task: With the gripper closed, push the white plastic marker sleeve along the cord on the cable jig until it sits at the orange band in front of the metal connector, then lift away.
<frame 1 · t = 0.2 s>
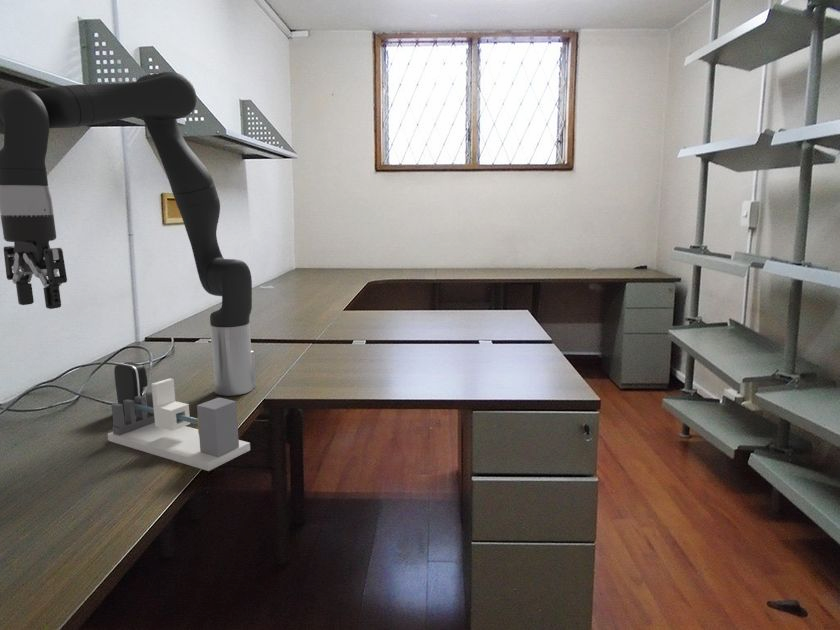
hand: (39, 306, 100), 28 cm above the table, fingers open, 8 cm apart
battery charger: (135, 413, 128), on the table
sleeve: (171, 404, 109), point 8 cm above the table, slide at 0.0 cm
cable jig: (177, 445, 110), on the table
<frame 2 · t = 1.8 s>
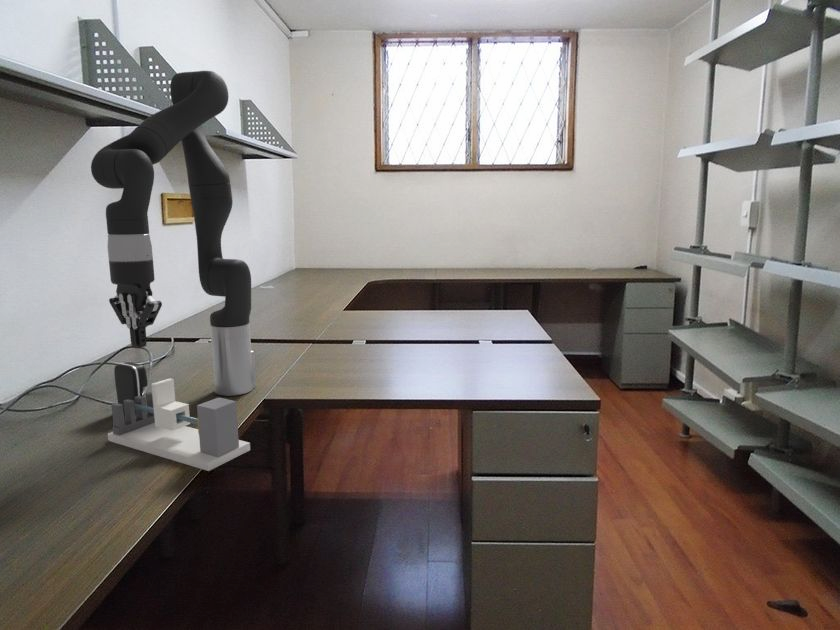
hand: (139, 346, 111), 19 cm above the table, fingers closed
nothing on the table moved.
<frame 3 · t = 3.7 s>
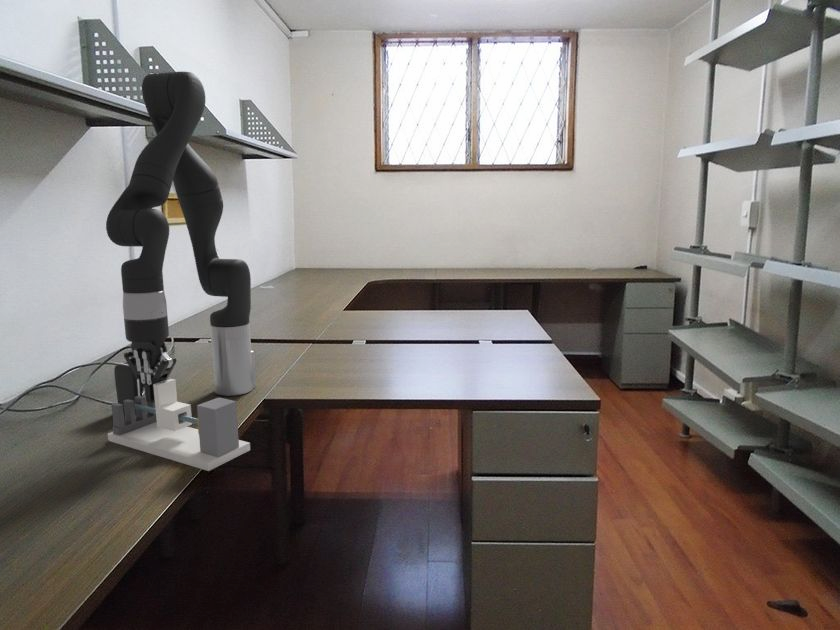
hand: (153, 401, 111), 8 cm above the table, fingers closed
sleeve: (172, 404, 109), point 8 cm above the table, slide at 0.5 cm, touching gripper
everything else where it was.
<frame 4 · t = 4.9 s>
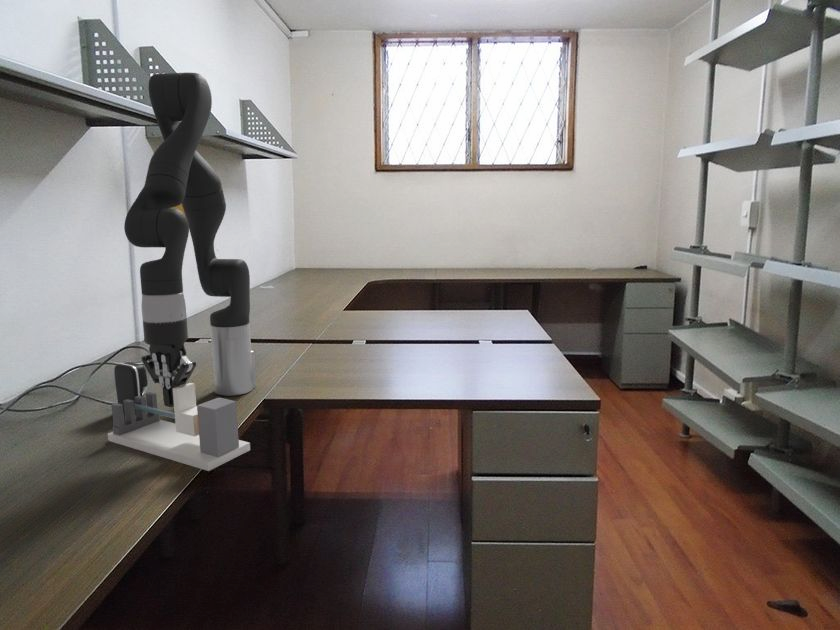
hand: (171, 405, 109), 8 cm above the table, fingers closed
sleeve: (192, 409, 106), point 8 cm above the table, slide at 5.9 cm, touching gripper
everything else where it was.
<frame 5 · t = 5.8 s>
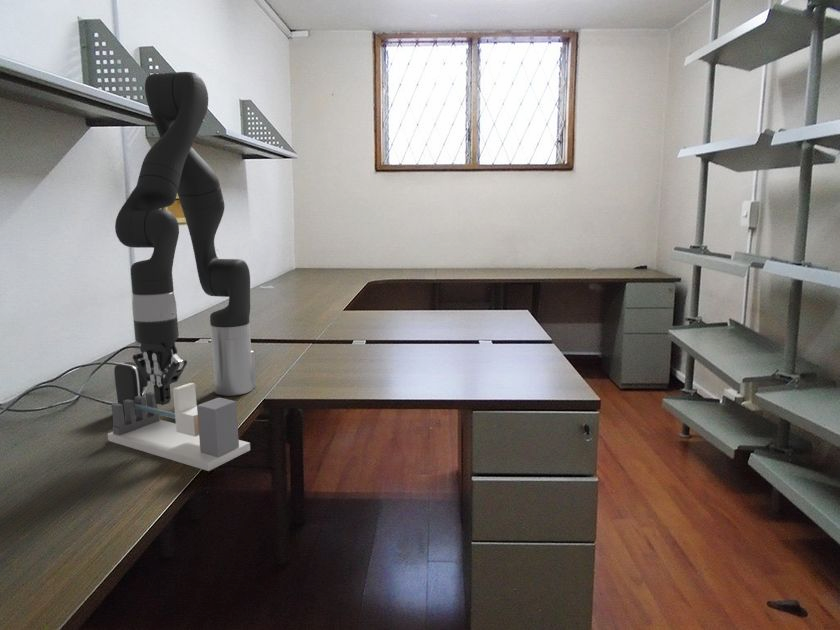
hand: (163, 403, 110), 8 cm above the table, fingers closed
sleeve: (192, 409, 106), point 8 cm above the table, slide at 6.0 cm
everything else where it was.
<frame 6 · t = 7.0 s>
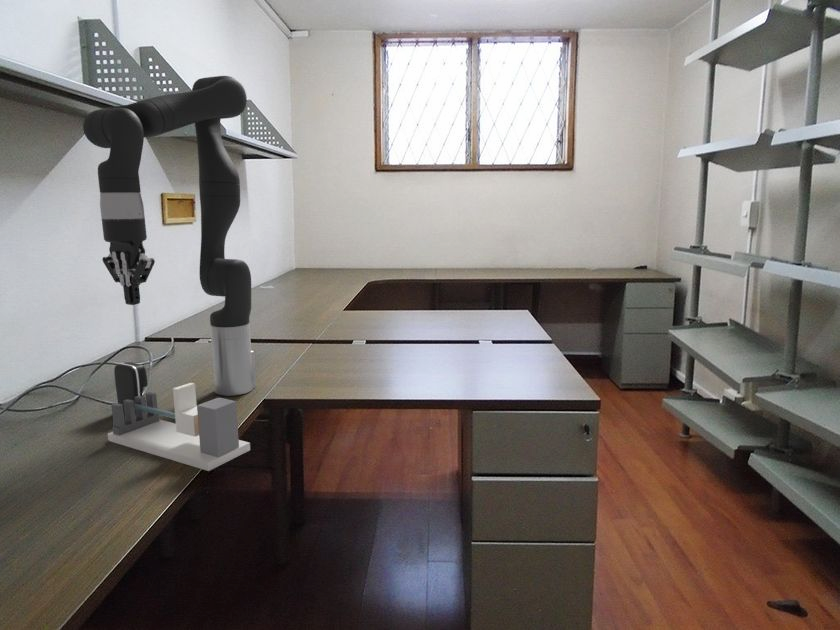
hand: (132, 304, 114), 26 cm above the table, fingers closed
nothing on the table moved.
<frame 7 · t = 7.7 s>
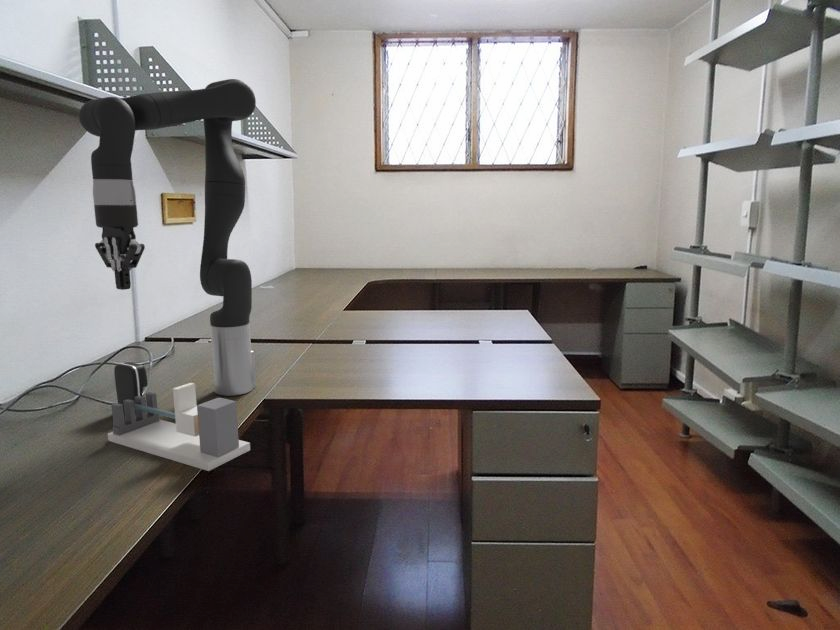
hand: (123, 289, 116), 29 cm above the table, fingers closed
nothing on the table moved.
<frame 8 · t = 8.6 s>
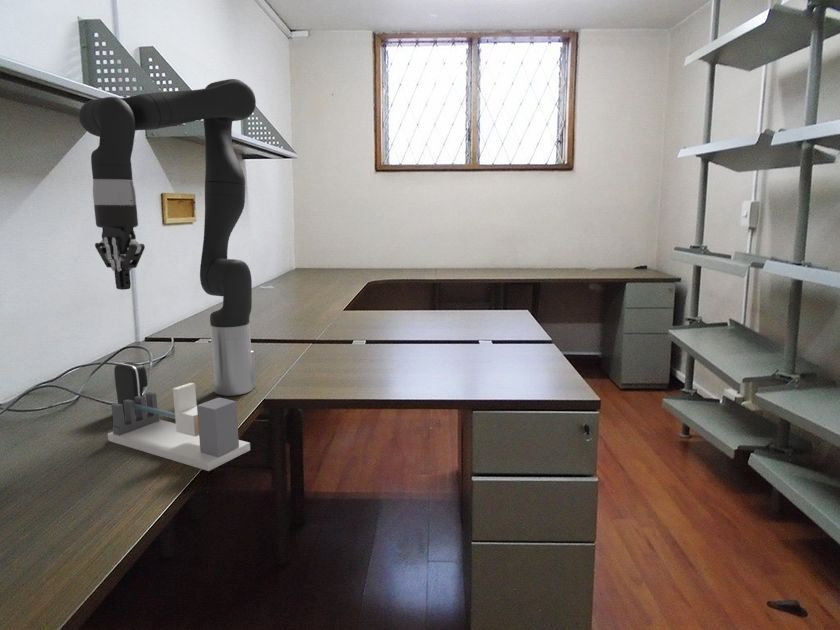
hand: (123, 288, 116), 29 cm above the table, fingers closed
nothing on the table moved.
at the end: sleeve slide at 6.0 cm; sleeve 0.0 cm from the target spot, resting on cable jig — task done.
